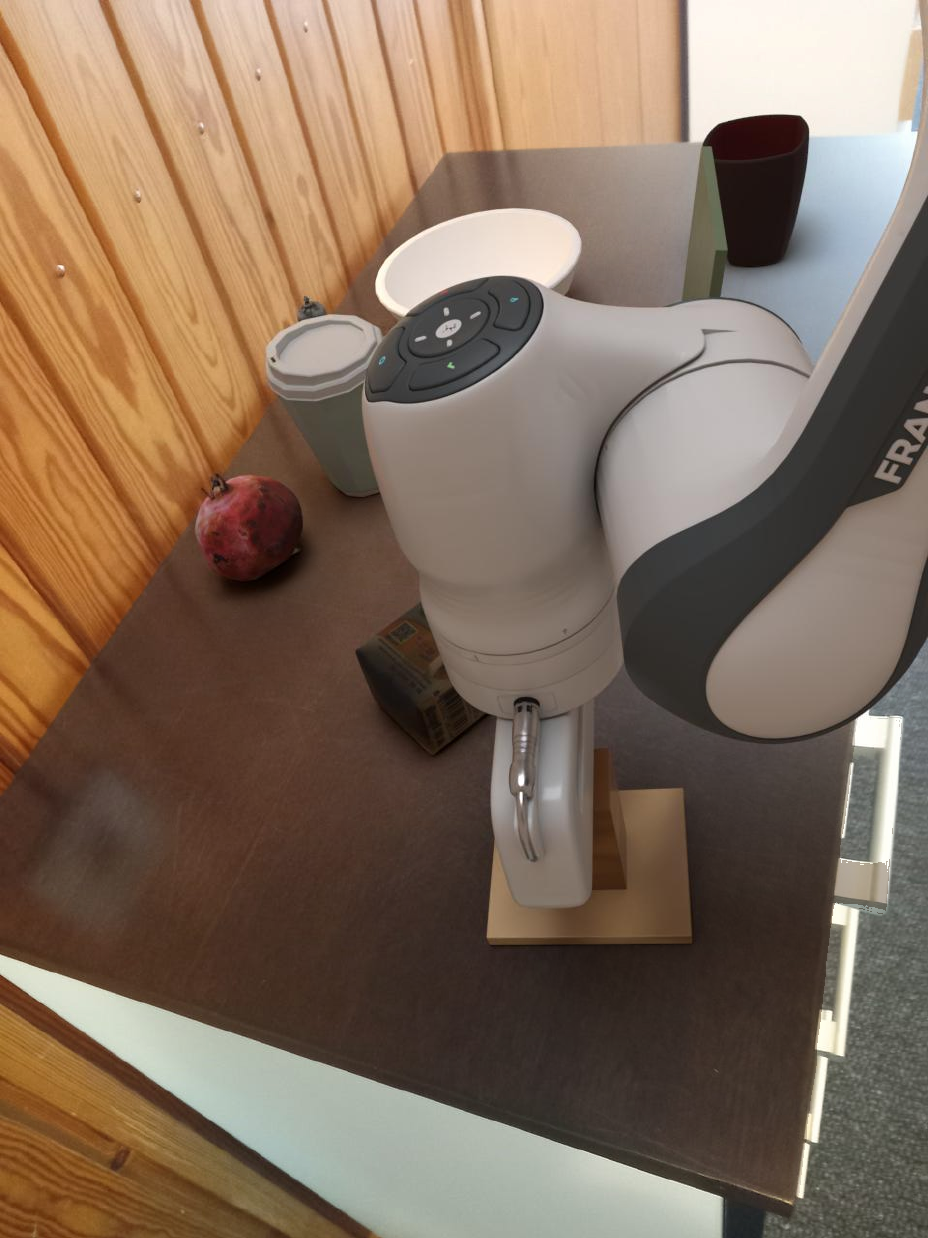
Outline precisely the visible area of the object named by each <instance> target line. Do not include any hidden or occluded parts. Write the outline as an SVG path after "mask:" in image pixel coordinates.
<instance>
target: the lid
mask: <svg viewBox="0 0 928 1238" xmlns="http://www.w3.org/2000/svg"><path fill="white" fill-rule="evenodd" d="M697 169H698V170H697V178H696V185H695V193H694V202H693V209H692V216H691V223H690V224H691V225H690V233H689V238H688V239H689V241H688V248H687V257H686V264H685V265H686V266H685V271H684V279H683V288H682V295H681V301H685V300H690V299H696V298H705V297H722V289H723V288H722V287H723V284H724V277H725V270H726V265H727V264H726V263H727V252H728V249H727V242H726V236H725V229H724V223H723V216H722V210H721V203H720V197H719V191H718V184H717V178H716V171H715V165H714V158H713V152H712V147H711V146H707V147H702V146H701V147H700V154H699V161H698V168H697Z"/></svg>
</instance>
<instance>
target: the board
mask: <svg viewBox="0 0 928 1238" xmlns="http://www.w3.org/2000/svg"><path fill="white" fill-rule="evenodd" d="M684 790H685V789H684V788H683V787H674V788H673V787H671V788H649V789H648V788H647V789H646V788H645V789H644V788H643V789H623V790H619V789H618V792H619V797H620V802H621V807H622V813H623V818H624V823H625V828H626V850H627V889H617V890H592V891H591V895H590V897H589V899H588V900H587V902H585V903H584V904H583V905H581V906H577V907H570V908H556V909H539V908H527V907H523V906H520V905H518V904H517V903H516V902H515V901H514V899H513V897H512V895H511V892H510V890H509V887H508V883H507V880H506V877H505V874H504V871H503V867H502V864H501V860H500V856H499V853H498V849H497V846H496V841H495V840H494V841H493V842H494V843H493V853H492V855H493V856H492V867H491V878H490V889H489V903H488V914H487V915H488V916H487V926H486V940H487V942H488V945H490V946H524V945H525V946H529V945H531V946H534V945H535V946H538V945H540V946H541V945H542V946H543V945H545V946H546V945H548V946H549V945H658V944H659V945H667V944H668V945H673V944H675V945H676V944H678V945H680V944H681V945H682V944H688V945H689V944H693V943H694V940H693V922H692V906H691V905H692V904H691V889H690V886H691V885H690V874H689V873H690V870H689V855H688V852H689V851H688V837H687V821H686V820H687V818H686V817H687V816H686V804H685V803H686V802H685V801H686V799H685V791H684Z"/></svg>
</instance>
